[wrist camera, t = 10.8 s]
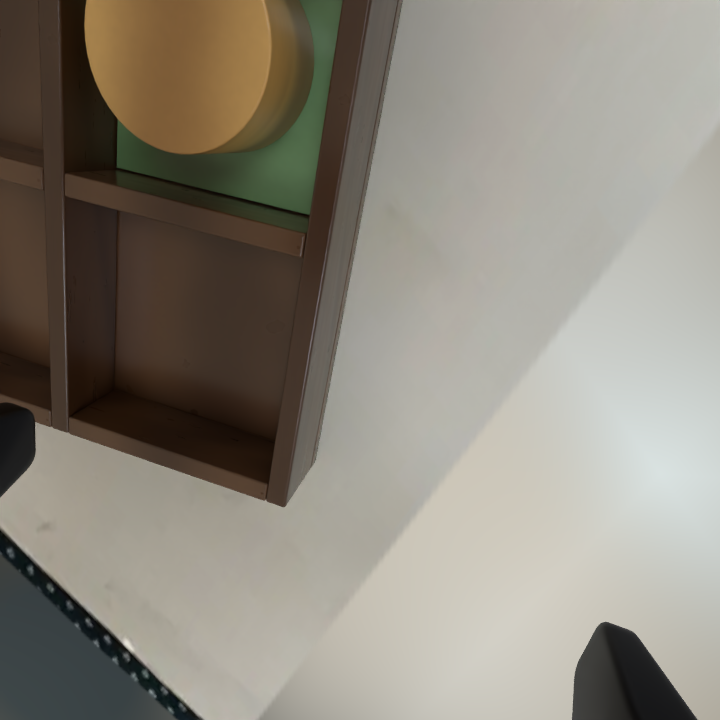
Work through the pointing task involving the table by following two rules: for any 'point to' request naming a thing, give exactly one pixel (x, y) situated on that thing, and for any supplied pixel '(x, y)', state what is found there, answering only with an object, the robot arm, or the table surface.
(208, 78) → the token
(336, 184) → the compartment tray
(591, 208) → the table surface
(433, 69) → the table surface
